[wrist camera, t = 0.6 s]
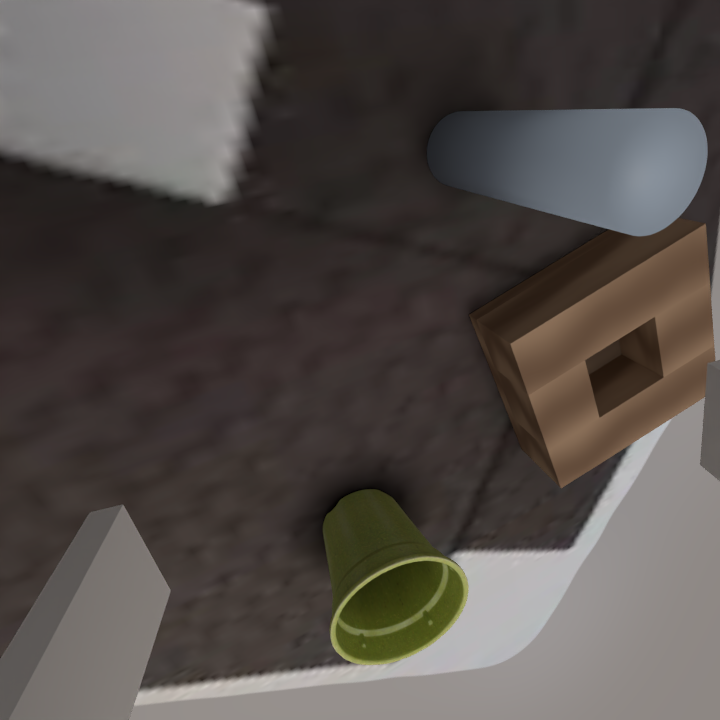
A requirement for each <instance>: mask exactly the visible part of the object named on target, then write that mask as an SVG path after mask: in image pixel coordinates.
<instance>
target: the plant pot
mask: <svg viewBox="0 0 720 720" xmlns="http://www.w3.org/2000/svg"><path fill="white" fill-rule="evenodd" d="M323 536H324V542H325V548H326V554H327V560H328V566H329V573H330V579H331V585H332V592H333V603H332V617H331V622H330V638H331V642H332V645H333V647H334V649H335V650H336V652H338V654H339V655H341V656H342V657H343V658H344V659H346V660H348V661H350V662H353V663H357V664H361V665H380V664H387V663H391V662H395V661H399V660H401V659H403V658H407V657H409V656H411V655H414V654H416V653H417V652H419V651H421V650H423V649H425V648H427V647H428V646H430V645H431V644H433V643H434V642H435V641H436V640H438V639H439V638H440V637H441V636H442V635H444V634H445V633H446V632H447V631H448V630H449V629H450V628H451V626H452V625H453V624H454V623H455V622H456V620H457V619H458V617H459V616H460V614H461V612H462V611H463V608H464V606H465V604H466V601H467V597H468V581H467V578H466V575H465V573H464V572H463V570H462V569H461V567H460V566H459V565H458V564H457V563H456V562H454V561H453V560H451V559H450V558H448V557H445V556H444V555H443V554H442V553H441V552H439V551H438V550H436V549H435V548H433V547H432V546H431V544H430V543H429V542H428V541H427V540H426V538H425V537H424V536H423V535H422V534H421V532H420V531H419V530H418V529H417V527H416V526H415V525H414V524H413V523H412V521H411V520H410V519H409V518H408V516H407V515H406V514H405V513H404V511H403V510H402V509H401V507H400V506H399V505H398V504H397V503H396V501H395V500H394V499H393V498H392V497H391V496H389V495H387V494H385V493H383V492H381V491H379V490H375V489H365V490H360V491H356V492H354V493H351V494H349V495H347V496H345V497H343V498H342V499H341V500H339V502H338V504H337V505H336V506H335V508H334V509H333V510H332V511H331V512H330V513H328V514H327V515H326V517H325V520H324V523H323Z"/></svg>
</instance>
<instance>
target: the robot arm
mask: <svg viewBox="0 0 720 720" xmlns="http://www.w3.org/2000/svg"><path fill="white" fill-rule="evenodd" d="M700 461H701V462H700V465H701V466H702V467H704V468H705V469H706V470H707V471H708V472H709V473H711V474H712V475H713V476H714V477H716V478H717V479H718V480H719V481H720V360H718V361H714V362H710V363H708V364H707V378H706V392H705V406H704V419H703V434H702V447H701V460H700ZM170 592H171V590H170V588H169V587H168V585H167V583H166V581H165V579H164V578H163V576H162V574H161V572H160V570H159V569H158V567H157V565H156V563H155V561H154V559H153V558H152V556H151V554H150V552H149V550H148V549H147V547H146V545H145V543H144V541H143V540H142V538H141V536H140V534H139V532H138V531H137V529H136V527H135V525H134V523H133V522H132V520H131V518H130V516H129V514H128V512H127V511H126V509H125V507H124V505H119V506H115V507H111V508H106V509H102V510H98V511H94V512H90V513H89V515H88V516H87V518H86V520H85V521H84V523H83V525H82V526H81V528H80V529H79V531H78V533H77V534H76V536H75V538H74V539H73V541H72V543H71V544H70V546H69V547H68V549H67V551H66V552H65V554H64V556H63V557H62V559H61V561H60V562H59V564H58V566H57V567H56V569H55V570H54V572H53V574H52V575H51V577H50V579H49V580H48V582H47V584H46V585H45V587H44V589H43V590H42V592H41V593H40V595H39V597H38V598H37V600H36V602H35V603H34V605H33V607H32V608H31V610H30V611H29V613H28V615H27V616H26V618H25V620H24V621H23V623H22V625H21V626H20V628H19V630H18V631H17V633H16V634H15V636H14V638H13V639H12V641H11V643H10V644H9V646H8V648H7V649H6V651H5V653H4V654H3V656H2V657H1V659H0V720H129V718H130V715H131V712H132V709H133V706H134V703H135V700H136V697H137V694H138V690H139V687H140V684H141V681H142V678H143V675H144V672H145V669H146V666H147V663H148V660H149V656H150V653H151V650H152V647H153V644H154V641H155V638H156V635H157V632H158V629H159V626H160V622H161V619H162V616H163V613H164V610H165V607H166V604H167V601H168V598H169V595H170Z"/></svg>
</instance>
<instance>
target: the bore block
mask: <svg viewBox="0 0 720 720" xmlns="http://www.w3.org/2000/svg"><path fill="white" fill-rule="evenodd" d="M469 316H470V319H471V321H472V324H473V326H474V329H475V332H476V334H477V337H478V339H479V342H480V344H481V347H482V349H483V352H484V354H485V357H486V360H487V362H488V365H489V367H490V370H491V372H492V375H493V377H494V380H495V382H496V385H497V388H498V390H499V393H500V395H501V398H502V400H503V403H504V405H505V408H506V410H507V413H508V416H509V418H510V421H511V423H512V426H513V428H514V431H515V433H516V436H517V438H518V441H519V444H520V446H521V449H522V450H523V451H524V452H525V453H526V454H527V455H528V456H529V457H530V458H531V459H532V460H533V461H534V462H535V463H536V464H537V465H538V466H539V467H540V468H541V469H542V470H543V471H544V472H545V473H546V474H547V475H548V476H549V477H550V478H551V479H552V480H553V481H554V482H555V483H556V484H557V485H558V486H559V487H560V488H562V487H564V486H566V485H567V484H569V483H570V482H572V481H573V480H575V479H577V478H578V477H580V476H581V475H583V474H584V473H586V472H588V471H589V470H591V469H592V468H594V467H595V466H597V465H599V464H600V463H602V462H603V461H605V460H607V459H608V458H610V457H611V456H613V455H614V454H616V453H618V452H619V451H621V450H622V449H624V448H625V447H627V446H629V445H630V444H632V443H633V442H635V441H636V440H638V439H640V438H641V437H643V436H644V435H646V434H647V433H649V432H651V431H652V430H654V429H655V428H657V427H658V426H660V425H662V424H663V423H665V422H666V421H668V420H669V419H671V418H673V417H674V416H676V415H677V414H679V413H680V412H682V411H684V410H685V409H687V408H688V407H690V406H692V405H693V404H695V403H696V402H698V401H699V400H701V399H702V398H704V397H705V392H706V378H707V364H708V363H710V362H714V361H715V351H714V337H713V336H714V335H713V322H712V307H711V293H710V278H709V264H708V250H707V236H706V224H705V223H700V222H695V221H690V220H686V219H681V218H677V219H676V220H675V221H674V222H673V223H671V224H670V225H669V226H667V227H666V228H664V229H663V230H661V231H659V232H657V233H654V234H651V235H647V236H632V235H629V234H625V233H621V232H618V231H614V230H610V229H608V230H607V231H605V232H604V233H602V234H600V235H599V236H597V237H595V238H594V239H592V240H590V241H589V242H587V243H586V244H584V245H582V246H581V247H579V248H577V249H576V250H574V251H572V252H571V253H569V254H568V255H566V256H564V257H563V258H561V259H559V260H558V261H556V262H554V263H553V264H551V265H550V266H548V267H546V268H545V269H543V270H541V271H540V272H538V273H536V274H535V275H533V276H531V277H530V278H528V279H527V280H525V281H523V282H522V283H520V284H518V285H517V286H515V287H513V288H512V289H510V290H509V291H507V292H505V293H504V294H502V295H500V296H499V297H497V298H495V299H494V300H492V301H491V302H489V303H487V304H486V305H484V306H482V307H481V308H479V309H477V310H476V311H474V312H473V313H471V314H469Z"/></svg>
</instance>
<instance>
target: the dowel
mask: <svg viewBox="0 0 720 720" xmlns="http://www.w3.org/2000/svg"><path fill="white" fill-rule="evenodd" d="M427 161H428V165H429V168H430V170H431V172H432V174H433V176H434V177H435V178H436V179H437V180H438V181H439V182H441V183H442V184H444V185H447V186H450V187H454V188H458V189H462V190H465V191H469V192H473V193H476V194H480V195H484V196H488V197H491V198H495V199H499V200H502V201H506V202H510V203H514V204H517V205H521V206H525V207H528V208H532V209H536V210H540V211H543V212H547V213H551V214H554V215H558V216H562V217H566V218H569V219H573V220H577V221H580V222H584V223H588V224H592V225H595V226H599V227H603V228H606V229H610V230H614V231H618V232H621V233H625V234H629V235H632V236H647V235H651V234H654V233H657V232H659V231H661V230H663V229H664V228H666V227H667V226H669V225H670V224H671V223H673V222H674V221H675V220H676V219H677V218H678V217H679V216H680V215H681V214H682V213H683V212H684V210H685V209H686V208H687V207H688V205H689V204H690V202H691V201H692V199H693V198H694V196H695V194H696V192H697V190H698V188H699V186H700V183H701V181H702V178H703V175H704V171H705V167H706V162H707V139H706V134H705V131H704V129H703V126H702V124H701V123H700V121H699V120H698V119H697V118H696V116H695V115H693V114H692V113H690V112H689V111H686V110H684V109H679V108H658V109H586V110H515V111H458V112H454V113H451V114H449V115H447V116H446V117H444V118H443V119H442V120H441V121H439V123H438V124H437V125H436V126H435V128H434V129H433V131H432V133H431V135H430V138H429V141H428V146H427Z"/></svg>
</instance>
